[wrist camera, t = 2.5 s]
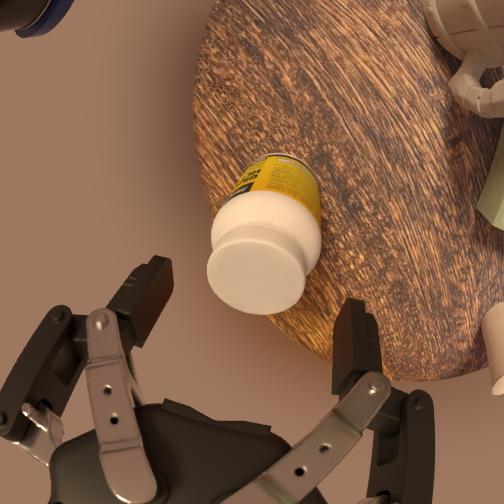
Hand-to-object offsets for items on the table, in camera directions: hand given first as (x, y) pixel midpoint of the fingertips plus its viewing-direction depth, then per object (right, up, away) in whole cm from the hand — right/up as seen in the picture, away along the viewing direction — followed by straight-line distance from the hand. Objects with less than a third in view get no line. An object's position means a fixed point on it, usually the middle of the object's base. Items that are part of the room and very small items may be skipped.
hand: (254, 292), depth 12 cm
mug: (+15, +17, -1) cm, 23 cm away
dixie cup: (+32, -7, +12) cm, 35 cm away
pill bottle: (+2, +7, +9) cm, 12 cm away
